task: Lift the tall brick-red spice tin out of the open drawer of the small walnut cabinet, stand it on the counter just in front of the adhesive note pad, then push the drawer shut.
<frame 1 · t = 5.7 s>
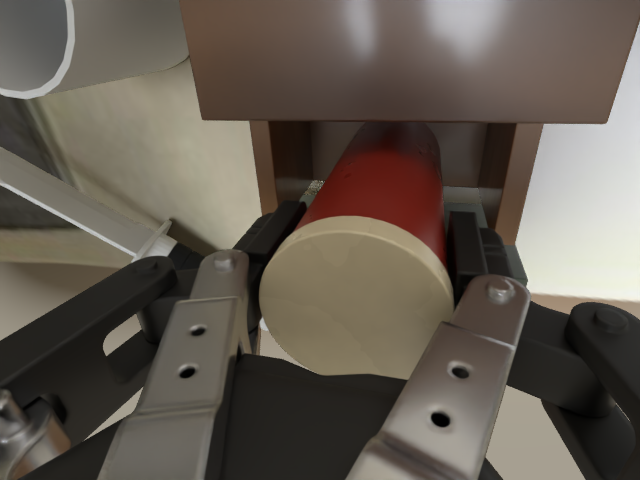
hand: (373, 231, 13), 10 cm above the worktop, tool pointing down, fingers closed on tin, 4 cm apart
drawer: (388, 179, 17), point 4 cm above the worktop, slide at 6.0 cm, touching tin
tin: (392, 159, 19), point 2 cm above the worktop, touching drawer, gripper
knife: (128, 204, 27), on the worktop
when the fingers open (8 cm above the worktop, at t = 13.1 s): tin stays where it is, on the worktop.
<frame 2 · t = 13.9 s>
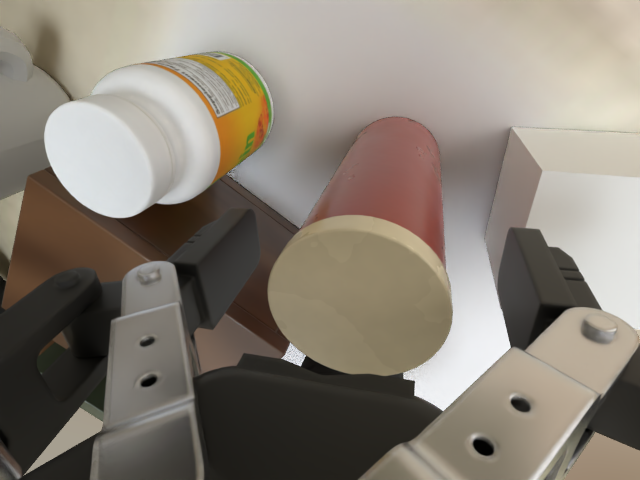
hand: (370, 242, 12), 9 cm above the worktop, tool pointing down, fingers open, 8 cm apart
drinking cup: (365, 316, 26), on the worktop
adhesive note: (561, 190, 19), on the worktop
cabinet: (214, 240, 25), on the worktop
cup: (41, 98, 24), on the worktop
drawer: (135, 348, 26), point 4 cm above the worktop, slide at 6.0 cm
tin: (393, 162, 20), on the worktop
supplement bottle: (230, 105, 21), on the worktop
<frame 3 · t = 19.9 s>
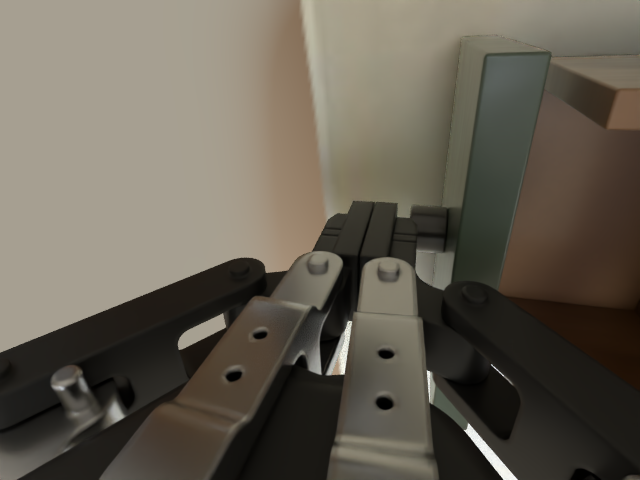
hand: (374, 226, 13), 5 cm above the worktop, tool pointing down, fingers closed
drawer: (565, 238, 12), point 4 cm above the worktop, slide at 6.0 cm, touching gripper
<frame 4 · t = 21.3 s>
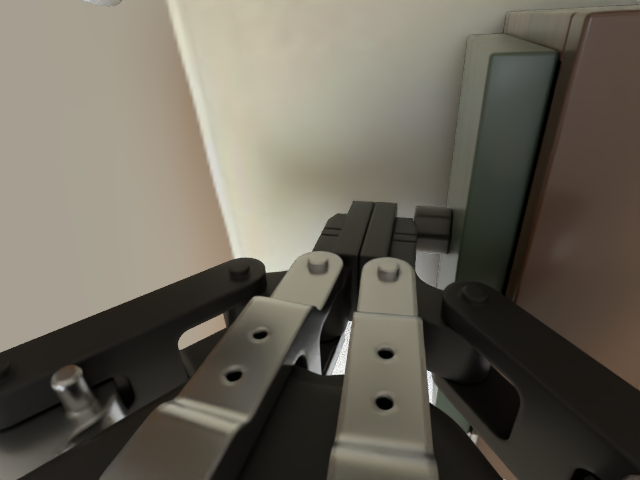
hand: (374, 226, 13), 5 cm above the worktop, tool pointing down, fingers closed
cabinet: (608, 191, 15), on the worktop
drawer: (572, 241, 12), point 4 cm above the worktop, slide at 0.0 cm, touching cabinet, gripper
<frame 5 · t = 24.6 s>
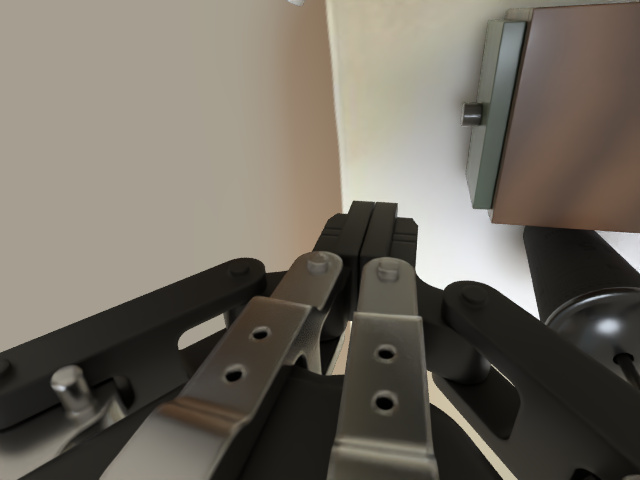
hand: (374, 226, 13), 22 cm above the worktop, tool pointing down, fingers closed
drinking cup: (553, 232, 34), on the worktop
cabinet: (559, 102, 29), on the worktop
drawer: (537, 114, 26), point 4 cm above the worktop, slide at 0.0 cm, touching cabinet
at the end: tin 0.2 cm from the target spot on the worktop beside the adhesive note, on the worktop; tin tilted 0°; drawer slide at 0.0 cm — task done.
